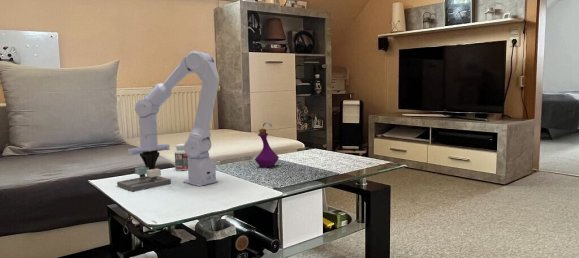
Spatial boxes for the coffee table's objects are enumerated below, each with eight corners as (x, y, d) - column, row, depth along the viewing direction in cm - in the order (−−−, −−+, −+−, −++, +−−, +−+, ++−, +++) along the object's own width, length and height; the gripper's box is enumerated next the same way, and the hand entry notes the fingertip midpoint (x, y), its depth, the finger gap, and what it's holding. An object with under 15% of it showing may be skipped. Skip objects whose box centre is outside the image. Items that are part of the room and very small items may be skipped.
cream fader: (161, 178, 141) (160, 169, 141) (151, 180, 139) (150, 171, 138) (156, 177, 143) (156, 168, 143) (147, 179, 140) (146, 169, 140)
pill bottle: (186, 171, 162) (185, 145, 161) (172, 170, 163) (171, 145, 162) (192, 168, 168) (191, 143, 167) (179, 167, 169) (178, 143, 168)
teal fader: (149, 176, 145) (148, 167, 145) (139, 178, 142) (138, 168, 142) (145, 175, 147) (144, 166, 147) (135, 177, 144) (135, 167, 144)
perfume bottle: (254, 167, 166) (253, 122, 164) (262, 164, 173) (261, 120, 171) (271, 168, 164) (270, 123, 161) (279, 165, 170) (278, 121, 168)
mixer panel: (170, 183, 142) (170, 179, 142) (132, 191, 132) (132, 186, 132) (154, 178, 150) (154, 174, 149) (117, 186, 140) (117, 181, 140)
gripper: (161, 131, 153) (163, 167, 155) (122, 135, 143) (125, 174, 144) (171, 132, 148) (173, 170, 150) (132, 137, 138) (134, 177, 139)
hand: (150, 172), depth 147 cm, fingers closed
